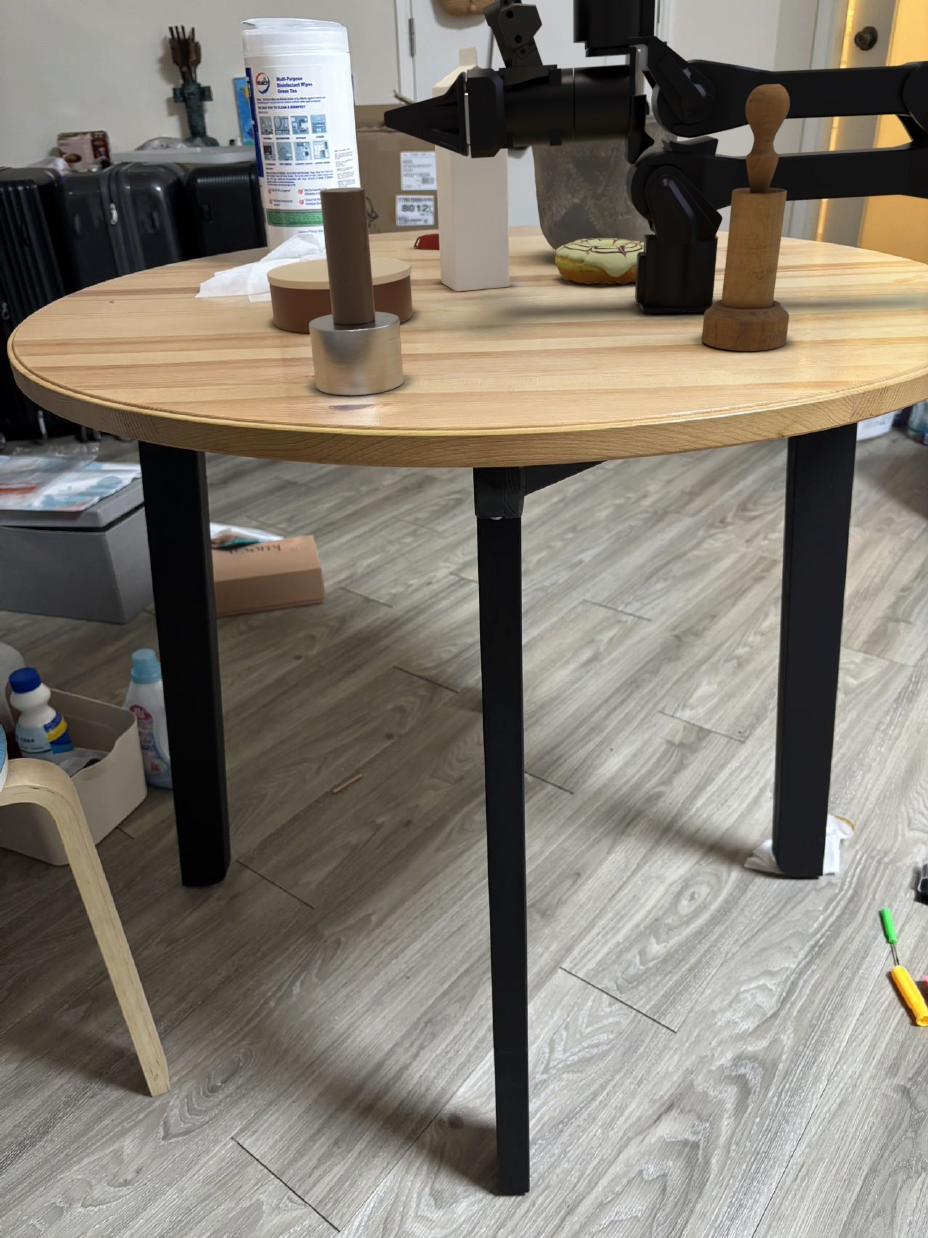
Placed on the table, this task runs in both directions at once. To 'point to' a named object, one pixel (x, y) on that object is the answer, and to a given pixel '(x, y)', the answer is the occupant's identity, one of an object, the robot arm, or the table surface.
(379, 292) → the cake
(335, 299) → the brown and silver tamper
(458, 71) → the milk
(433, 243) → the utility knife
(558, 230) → the grey stone pot
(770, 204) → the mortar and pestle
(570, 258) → the decorated donut
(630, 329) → the table surface
